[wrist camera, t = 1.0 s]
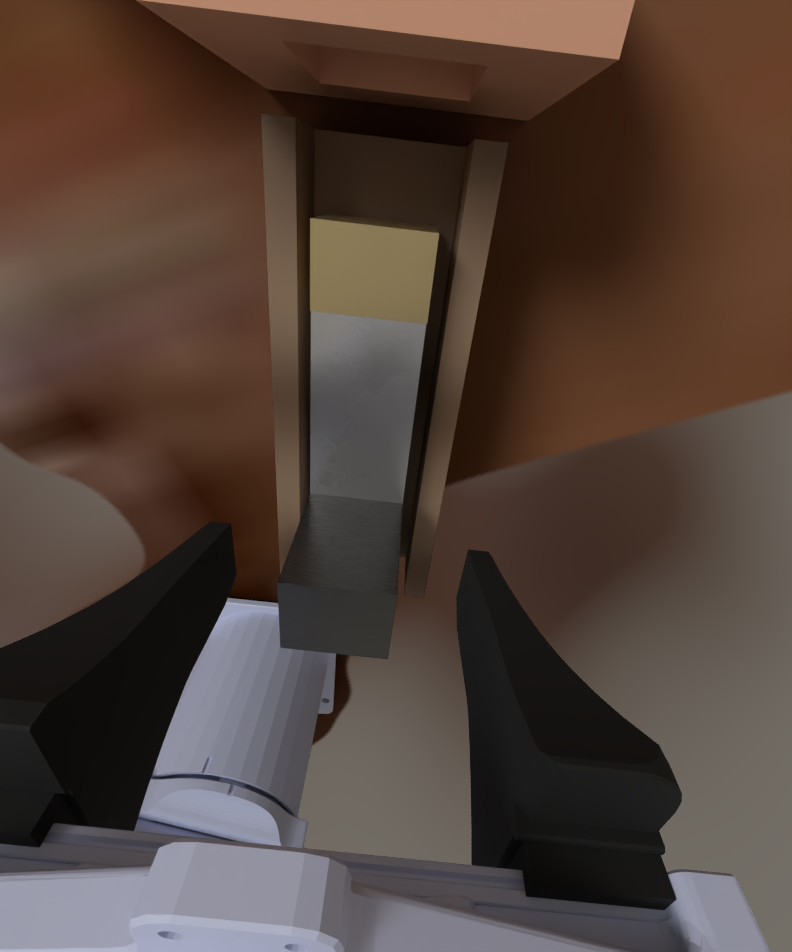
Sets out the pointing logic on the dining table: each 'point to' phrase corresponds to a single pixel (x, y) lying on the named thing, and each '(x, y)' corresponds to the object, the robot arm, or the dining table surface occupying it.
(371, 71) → the tan square block
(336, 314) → the slide bar
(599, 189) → the dining table surface
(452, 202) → the guide channel
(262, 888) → the robot arm
